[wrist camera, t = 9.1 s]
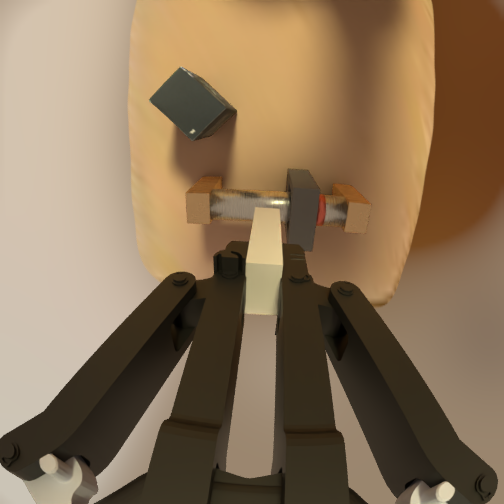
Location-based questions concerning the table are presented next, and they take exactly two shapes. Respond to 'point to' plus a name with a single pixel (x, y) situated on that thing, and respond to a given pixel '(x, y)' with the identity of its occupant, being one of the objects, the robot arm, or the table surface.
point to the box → (192, 104)
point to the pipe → (274, 205)
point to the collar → (302, 208)
